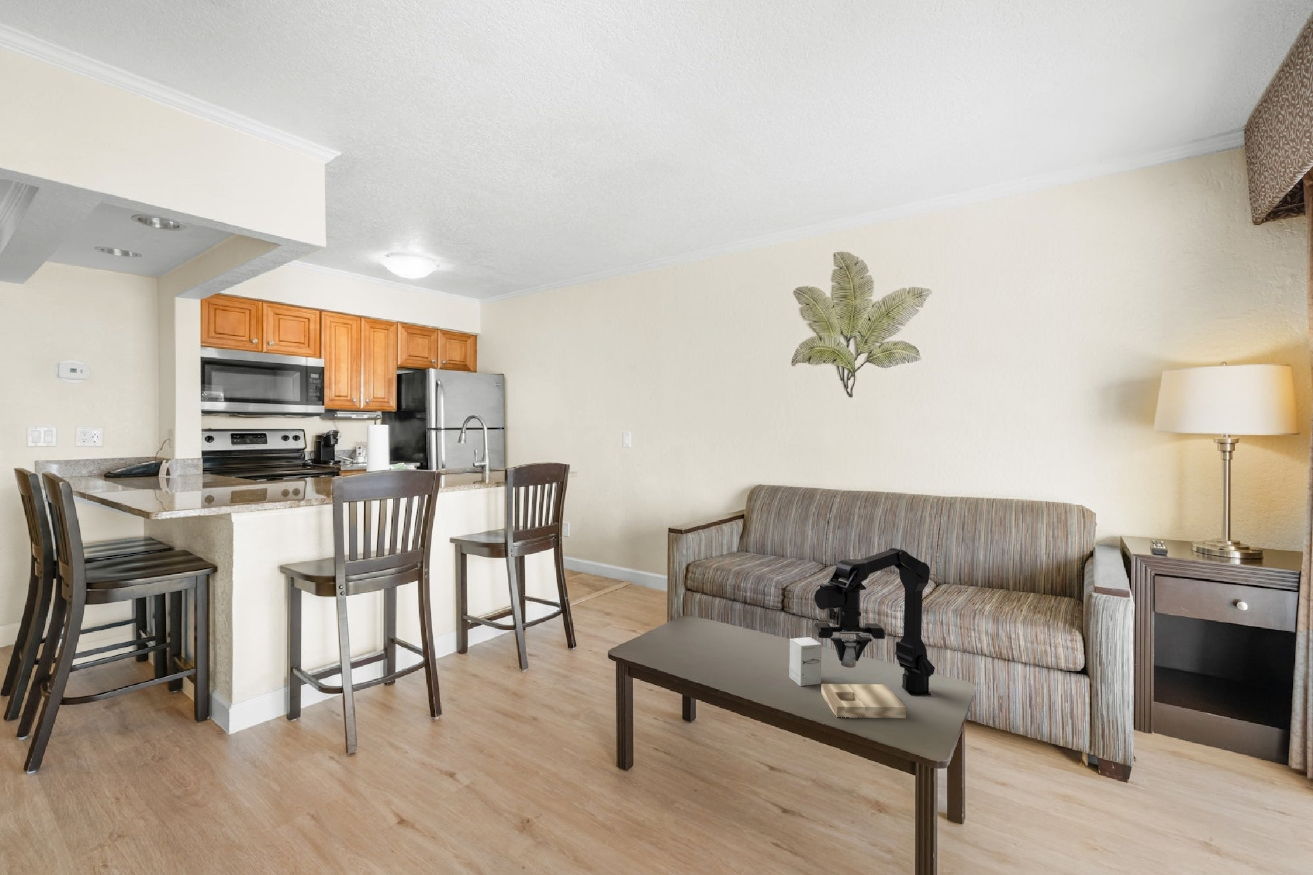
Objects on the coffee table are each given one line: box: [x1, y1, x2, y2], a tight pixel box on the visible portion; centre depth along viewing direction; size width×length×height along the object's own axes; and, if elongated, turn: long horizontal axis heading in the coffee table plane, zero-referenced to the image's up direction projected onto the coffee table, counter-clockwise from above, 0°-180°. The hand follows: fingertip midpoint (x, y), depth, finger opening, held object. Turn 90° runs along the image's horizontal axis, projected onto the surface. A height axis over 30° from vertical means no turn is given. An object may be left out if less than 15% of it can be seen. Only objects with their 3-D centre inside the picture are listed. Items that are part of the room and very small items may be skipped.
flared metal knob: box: [840, 636, 858, 669], centre depth 169 cm, size 5×5×7 cm
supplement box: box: [788, 636, 822, 687], centre depth 187 cm, size 7×7×13 cm
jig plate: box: [820, 683, 907, 719], centre depth 170 cm, size 19×15×3 cm
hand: (848, 660), depth 169 cm, fingers closed on flared metal knob, 4 cm apart
